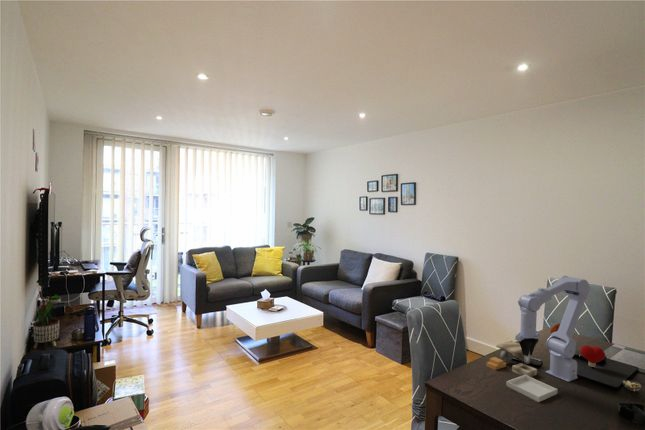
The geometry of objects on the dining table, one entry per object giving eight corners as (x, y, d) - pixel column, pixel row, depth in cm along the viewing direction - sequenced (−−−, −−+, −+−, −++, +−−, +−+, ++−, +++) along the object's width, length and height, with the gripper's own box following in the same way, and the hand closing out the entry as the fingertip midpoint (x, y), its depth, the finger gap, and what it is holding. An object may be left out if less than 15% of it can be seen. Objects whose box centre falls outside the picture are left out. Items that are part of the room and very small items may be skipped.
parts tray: (557, 393, 136) (557, 389, 136) (538, 402, 129) (538, 396, 129) (524, 379, 147) (524, 374, 147) (506, 386, 141) (506, 381, 141)
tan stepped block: (494, 370, 155) (495, 363, 155) (486, 366, 159) (486, 359, 159) (506, 367, 159) (506, 359, 159) (497, 363, 163) (497, 356, 163)
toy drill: (572, 344, 184) (572, 317, 182) (558, 357, 173) (558, 328, 171) (562, 341, 187) (561, 315, 186) (547, 353, 177) (547, 326, 175)
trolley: (528, 362, 164) (529, 347, 164) (511, 368, 157) (511, 352, 157) (510, 355, 172) (511, 341, 171) (493, 360, 165) (493, 345, 165)
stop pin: (530, 363, 147) (531, 349, 147) (527, 364, 146) (528, 350, 146) (525, 361, 149) (526, 347, 149) (523, 362, 148) (523, 348, 148)
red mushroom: (582, 368, 158) (583, 347, 158) (577, 362, 165) (578, 342, 165) (607, 372, 155) (608, 351, 155) (601, 366, 161) (602, 345, 161)
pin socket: (536, 374, 151) (537, 369, 151) (527, 378, 148) (527, 372, 148) (521, 368, 157) (521, 362, 157) (512, 371, 154) (512, 365, 154)
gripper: (527, 328, 140) (526, 361, 140) (547, 324, 147) (546, 355, 147) (511, 323, 146) (510, 354, 147) (531, 319, 153) (530, 349, 153)
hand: (527, 354), depth 147 cm, fingers closed on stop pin, 2 cm apart
